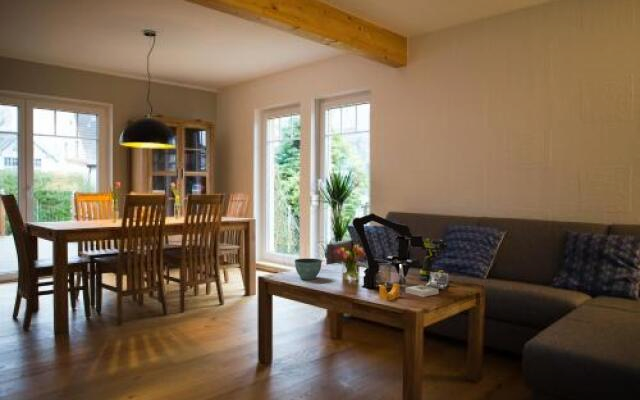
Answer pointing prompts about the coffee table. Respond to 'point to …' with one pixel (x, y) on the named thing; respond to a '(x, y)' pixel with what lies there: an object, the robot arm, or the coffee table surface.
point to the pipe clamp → (391, 295)
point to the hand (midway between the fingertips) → (402, 276)
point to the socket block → (400, 285)
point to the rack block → (422, 290)
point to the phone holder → (438, 281)
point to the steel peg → (401, 274)
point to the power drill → (431, 256)
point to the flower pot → (308, 268)
